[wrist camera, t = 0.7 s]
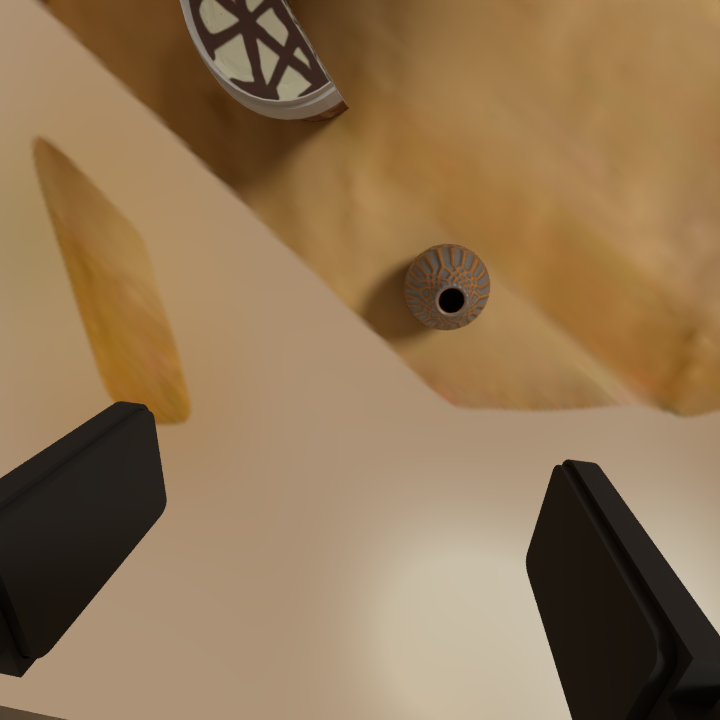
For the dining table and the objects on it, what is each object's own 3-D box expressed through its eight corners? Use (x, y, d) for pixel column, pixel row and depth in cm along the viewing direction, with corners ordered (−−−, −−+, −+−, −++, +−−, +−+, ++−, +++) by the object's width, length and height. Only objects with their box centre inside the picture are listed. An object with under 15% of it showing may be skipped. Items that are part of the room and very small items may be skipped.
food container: (209, 29, 31) (122, -48, 22) (268, -31, 29) (200, -144, 20) (300, 171, 34) (257, 157, 24) (358, 125, 32) (336, 90, 23)
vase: (389, 287, 36) (383, 309, 28) (438, 224, 34) (445, 229, 26) (446, 331, 37) (456, 365, 29) (498, 273, 35) (524, 292, 27)
